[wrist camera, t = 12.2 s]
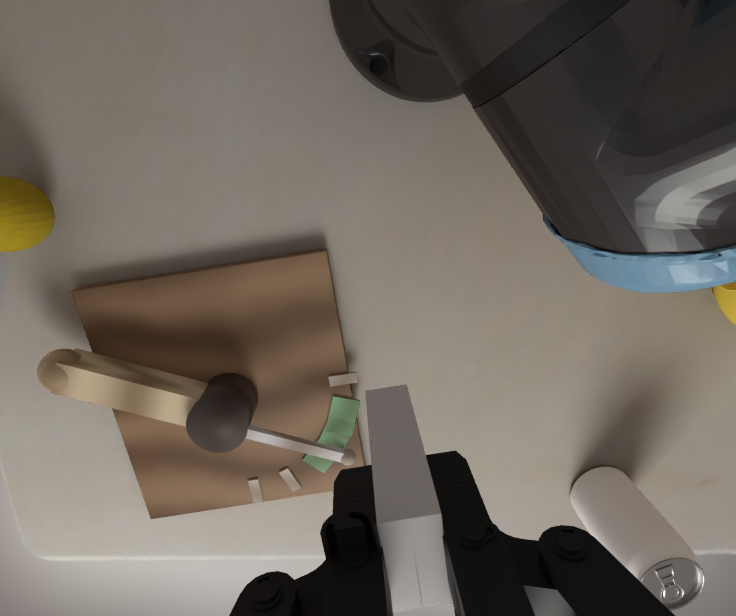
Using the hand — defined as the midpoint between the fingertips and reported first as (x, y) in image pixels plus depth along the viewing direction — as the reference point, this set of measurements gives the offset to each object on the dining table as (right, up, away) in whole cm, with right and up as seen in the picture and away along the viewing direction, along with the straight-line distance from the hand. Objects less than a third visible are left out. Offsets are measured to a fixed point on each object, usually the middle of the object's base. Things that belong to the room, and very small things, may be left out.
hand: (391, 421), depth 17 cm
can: (+24, -15, +34) cm, 44 cm away
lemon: (-28, +12, +23) cm, 38 cm away
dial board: (-14, -4, +28) cm, 32 cm away
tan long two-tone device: (-15, -4, +27) cm, 31 cm away
